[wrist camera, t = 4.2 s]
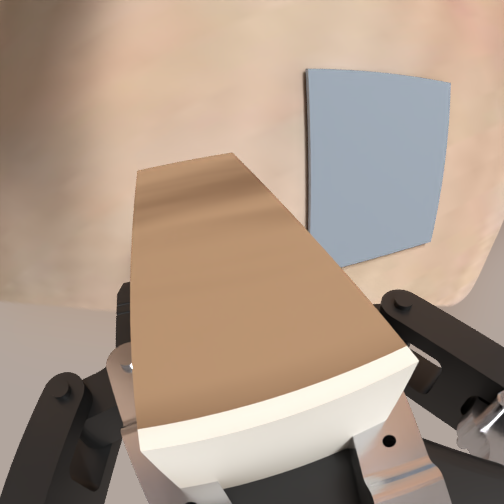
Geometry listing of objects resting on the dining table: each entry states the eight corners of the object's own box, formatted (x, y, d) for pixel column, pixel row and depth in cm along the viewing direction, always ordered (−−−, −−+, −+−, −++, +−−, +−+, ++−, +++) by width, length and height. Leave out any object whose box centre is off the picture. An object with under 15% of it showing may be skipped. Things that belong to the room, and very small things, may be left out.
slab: (137, 171, 11) (139, 451, 3) (232, 152, 12) (418, 360, 4) (173, 312, 15) (225, 524, 7) (246, 294, 16) (338, 488, 8)
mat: (305, 68, 20) (307, 68, 20) (447, 82, 23) (450, 83, 23) (307, 273, 30) (308, 275, 29) (428, 240, 33) (430, 241, 33)
